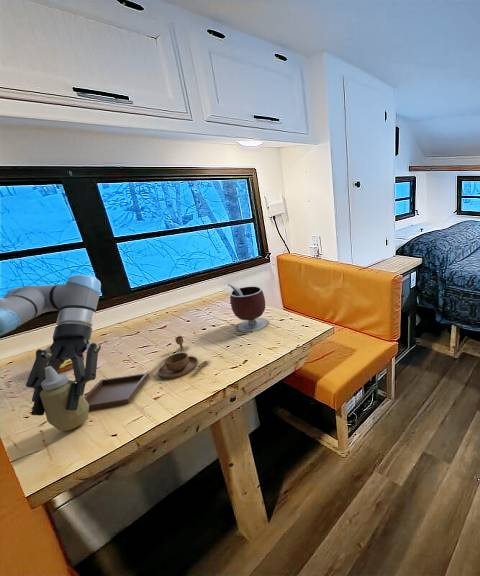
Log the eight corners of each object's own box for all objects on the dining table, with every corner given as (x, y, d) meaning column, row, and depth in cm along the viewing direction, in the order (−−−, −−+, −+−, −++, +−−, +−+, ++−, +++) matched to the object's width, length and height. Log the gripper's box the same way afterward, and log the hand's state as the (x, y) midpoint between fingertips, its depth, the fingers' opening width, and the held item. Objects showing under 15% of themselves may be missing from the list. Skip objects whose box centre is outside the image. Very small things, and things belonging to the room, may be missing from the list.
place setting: (142, 380, 102) (136, 365, 100) (179, 348, 121) (176, 335, 119) (193, 379, 102) (189, 364, 100) (223, 348, 121) (220, 335, 119)
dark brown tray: (75, 413, 88) (72, 407, 88) (103, 384, 101) (101, 379, 100) (129, 404, 91) (127, 399, 91) (149, 377, 104) (148, 372, 103)
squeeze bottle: (43, 435, 79) (13, 377, 73) (72, 412, 87) (47, 358, 81) (75, 434, 79) (48, 376, 73) (101, 411, 87) (79, 358, 81)
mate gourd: (275, 320, 143) (268, 280, 136) (256, 335, 130) (248, 291, 124) (246, 318, 147) (238, 278, 140) (226, 331, 134) (216, 289, 127)
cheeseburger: (32, 376, 106) (28, 348, 105) (68, 365, 116) (65, 339, 115) (56, 377, 104) (53, 349, 103) (90, 366, 115) (87, 340, 114)
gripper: (122, 326, 92) (108, 406, 83) (44, 335, 88) (20, 420, 79) (106, 318, 86) (89, 404, 76) (20, 326, 81) (-8, 419, 72)
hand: (54, 412), depth 78 cm, fingers closed on squeeze bottle, 6 cm apart
